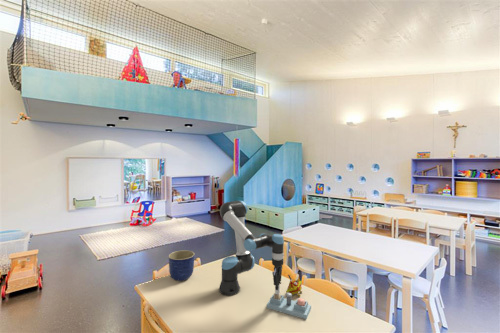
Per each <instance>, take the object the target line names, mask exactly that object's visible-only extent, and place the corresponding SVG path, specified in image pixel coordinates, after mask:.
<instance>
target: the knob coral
mask: <svg viewBox="0 0 500 333" xmlns="http://www.w3.org/2000/svg"><path fill="white" fill-rule="evenodd" d="M297 299H298V305H301V306H305V301H306V300H305V299H304V298H301V297H300V298H297Z"/></svg>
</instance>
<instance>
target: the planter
mask: <svg viewBox="0 0 500 333" xmlns="http://www.w3.org/2000/svg"><path fill="white" fill-rule="evenodd" d="M195 255H196V254H195V252H194V251H192V250H185V249H182V250H176V251H173V252H171V253H169V254H168V268H169V269H168V271H169V276H170V278H171V279H173V281H178V282H182V281H186V280H188V279H190V278H191V277H192V276H193V273H194V269H195Z"/></svg>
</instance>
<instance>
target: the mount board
mask: <svg viewBox="0 0 500 333" xmlns="http://www.w3.org/2000/svg"><path fill="white" fill-rule="evenodd" d="M298 299H299V298H297V299H296V300H293V299H291V306H287V297H285V295H282V294H281V299H280V300H278V299H274V293H273V294H272V295H271V297H270V299H269V300H268V302H267V303H266V308H267V309H269V310H274V311H277V312H280V313H282V314H283V313H284V314H286V315H290V316H293V317H298V318H300V319H304V320H307V319H308V317H309V314H310V312H311V309H312V305H311V304H309V301H307V300H305V306H301V305H298Z"/></svg>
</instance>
